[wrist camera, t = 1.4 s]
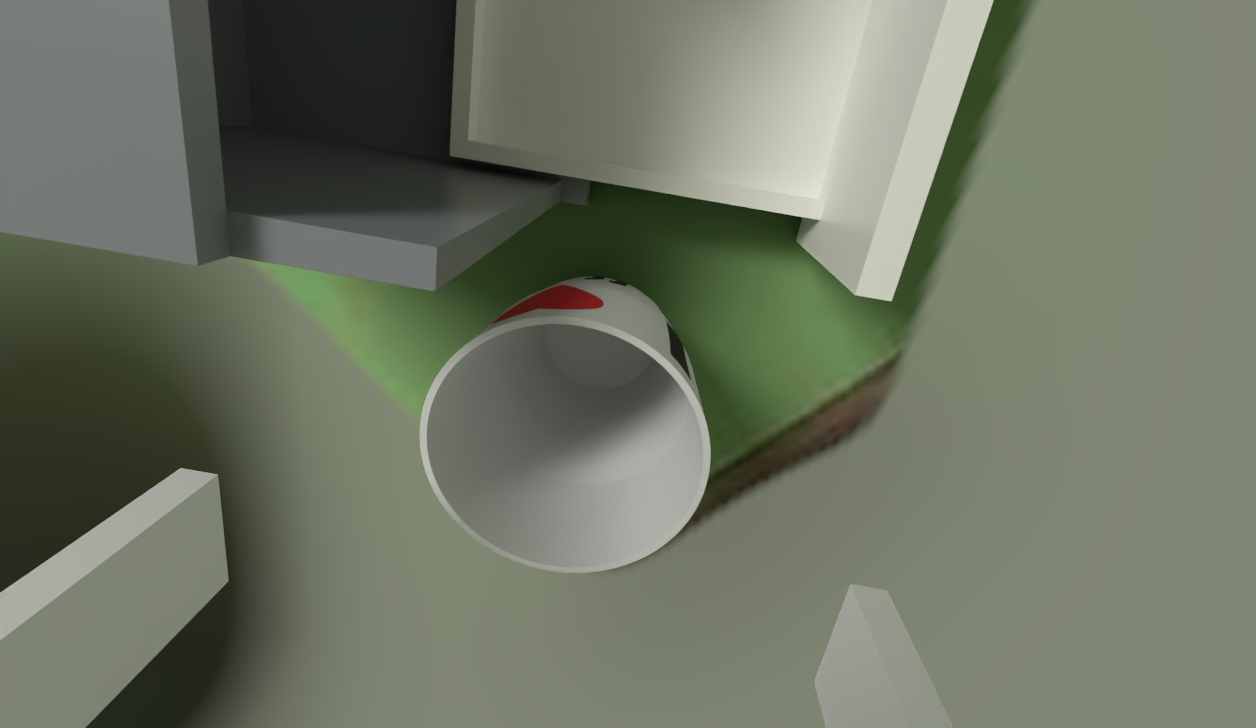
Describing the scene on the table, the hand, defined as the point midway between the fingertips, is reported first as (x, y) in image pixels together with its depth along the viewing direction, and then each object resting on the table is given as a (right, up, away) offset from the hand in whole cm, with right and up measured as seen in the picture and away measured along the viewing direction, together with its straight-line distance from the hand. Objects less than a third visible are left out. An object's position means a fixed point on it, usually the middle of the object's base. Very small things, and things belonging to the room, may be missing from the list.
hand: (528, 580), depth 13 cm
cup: (+1, +6, +14) cm, 15 cm away
